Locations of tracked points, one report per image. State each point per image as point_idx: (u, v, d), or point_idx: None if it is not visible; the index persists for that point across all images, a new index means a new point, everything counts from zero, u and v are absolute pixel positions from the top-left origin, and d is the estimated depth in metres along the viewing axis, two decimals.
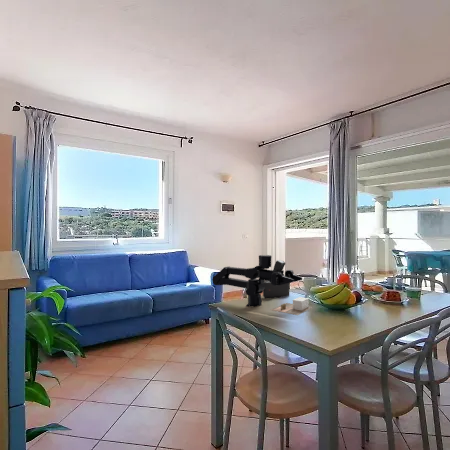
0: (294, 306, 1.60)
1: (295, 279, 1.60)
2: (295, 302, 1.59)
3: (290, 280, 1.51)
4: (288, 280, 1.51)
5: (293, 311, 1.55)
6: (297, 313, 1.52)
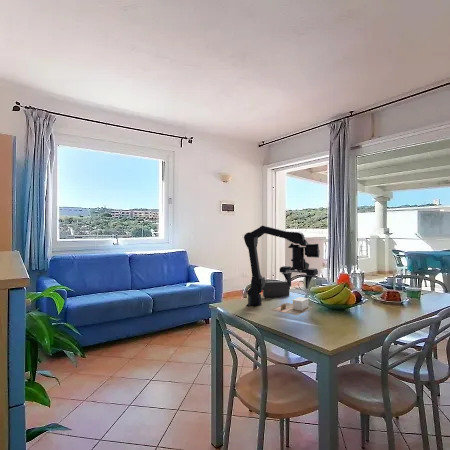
0: (294, 306, 1.60)
1: (289, 279, 1.62)
2: (295, 302, 1.59)
3: (308, 285, 1.57)
4: (308, 283, 1.57)
5: (293, 311, 1.55)
6: (297, 313, 1.52)
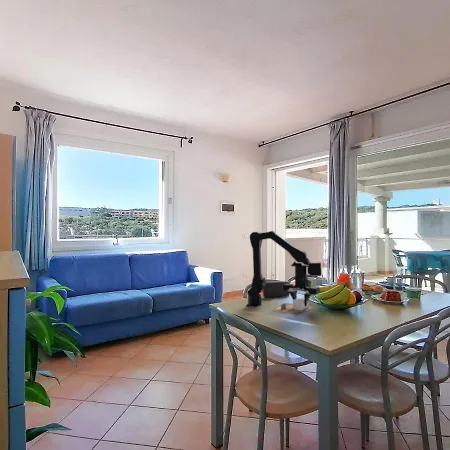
0: (294, 306, 1.60)
1: (295, 297, 1.63)
2: (295, 302, 1.59)
3: (306, 303, 1.60)
4: (307, 301, 1.59)
5: (293, 311, 1.55)
6: (297, 313, 1.52)
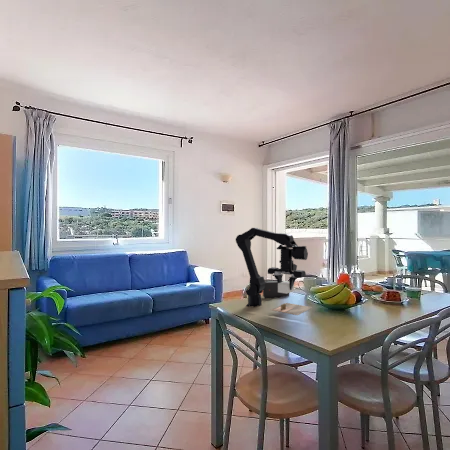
0: (279, 289, 1.58)
1: (280, 281, 1.61)
2: (280, 285, 1.57)
3: (292, 286, 1.58)
4: (292, 285, 1.58)
5: (293, 311, 1.55)
6: (297, 313, 1.52)
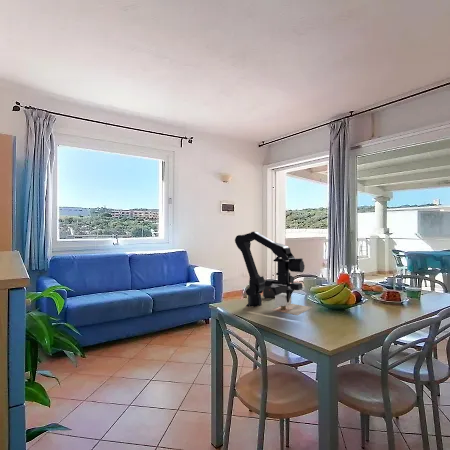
0: (276, 302, 1.57)
1: (277, 293, 1.61)
2: (277, 298, 1.57)
3: (289, 299, 1.57)
4: (289, 297, 1.57)
5: (293, 311, 1.55)
6: (297, 313, 1.52)
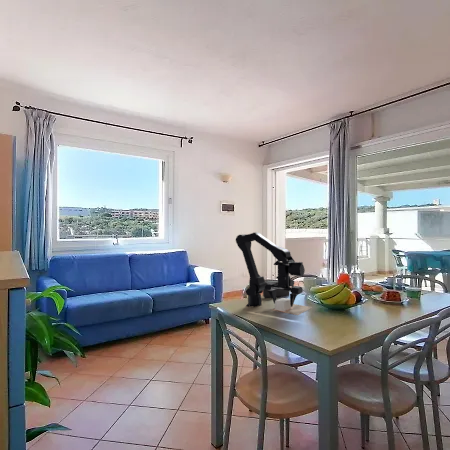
0: (276, 307, 1.57)
1: (274, 296, 1.62)
2: (277, 303, 1.57)
3: (292, 303, 1.56)
4: (293, 301, 1.56)
5: (293, 311, 1.55)
6: (297, 313, 1.52)
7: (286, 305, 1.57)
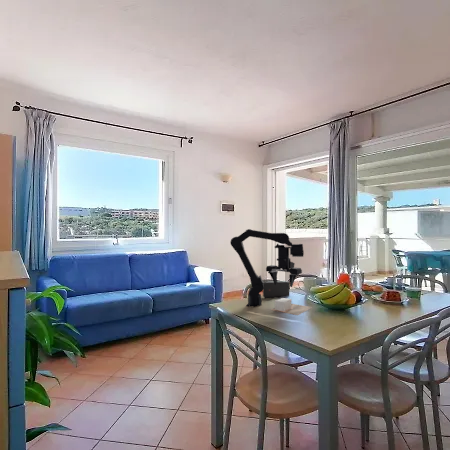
0: (276, 307, 1.57)
1: (275, 278, 1.70)
2: (277, 303, 1.57)
3: (292, 284, 1.64)
4: (292, 282, 1.64)
5: (293, 311, 1.55)
6: (297, 313, 1.52)
7: (286, 305, 1.57)
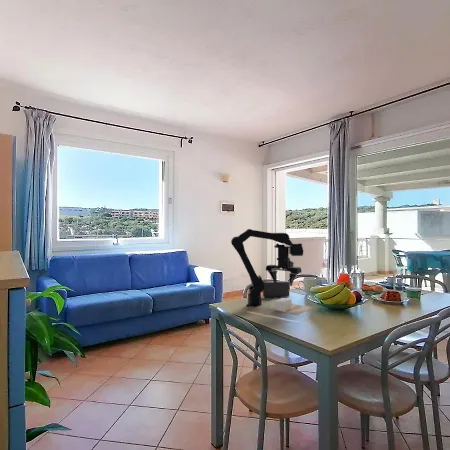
0: (276, 307, 1.57)
1: (274, 277, 1.72)
2: (277, 303, 1.57)
3: (292, 283, 1.67)
4: (292, 281, 1.67)
5: (293, 311, 1.55)
6: (297, 313, 1.52)
7: (286, 305, 1.57)
